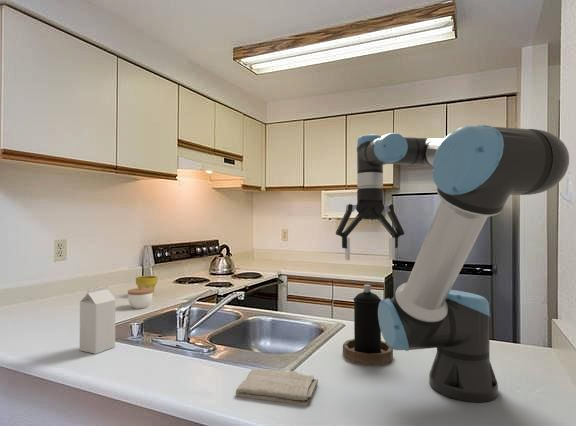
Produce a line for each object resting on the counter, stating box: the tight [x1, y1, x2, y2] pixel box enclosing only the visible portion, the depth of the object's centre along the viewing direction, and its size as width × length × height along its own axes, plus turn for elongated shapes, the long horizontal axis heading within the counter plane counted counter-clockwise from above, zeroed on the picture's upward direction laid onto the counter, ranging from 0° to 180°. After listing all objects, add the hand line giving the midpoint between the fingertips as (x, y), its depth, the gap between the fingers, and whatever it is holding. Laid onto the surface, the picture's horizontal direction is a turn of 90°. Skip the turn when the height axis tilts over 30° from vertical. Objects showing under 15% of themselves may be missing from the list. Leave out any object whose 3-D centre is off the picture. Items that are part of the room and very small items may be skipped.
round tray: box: [342, 338, 394, 367], centre depth 113 cm, size 14×14×3 cm
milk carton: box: [79, 285, 116, 355], centre depth 118 cm, size 7×7×19 cm
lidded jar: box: [127, 286, 154, 310], centre depth 172 cm, size 11×11×9 cm
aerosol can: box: [352, 284, 383, 353], centre depth 113 cm, size 8×8×20 cm
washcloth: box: [235, 367, 319, 407], centre depth 91 cm, size 12×18×3 cm, turn 77°
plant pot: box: [135, 275, 158, 295], centre depth 195 cm, size 10×10×10 cm
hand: (369, 259), depth 113 cm, fingers open, 13 cm apart
